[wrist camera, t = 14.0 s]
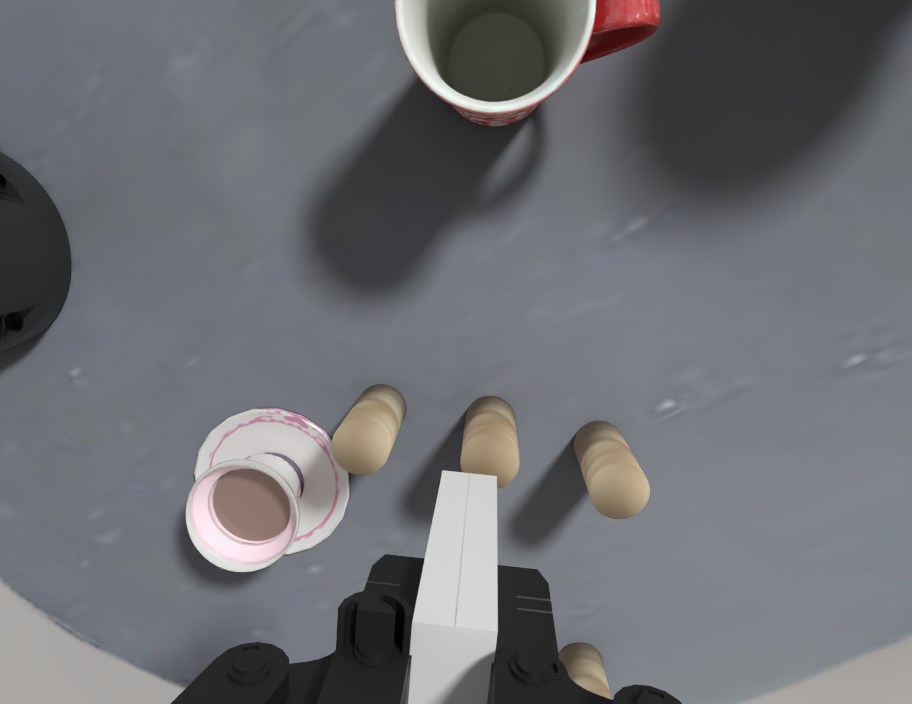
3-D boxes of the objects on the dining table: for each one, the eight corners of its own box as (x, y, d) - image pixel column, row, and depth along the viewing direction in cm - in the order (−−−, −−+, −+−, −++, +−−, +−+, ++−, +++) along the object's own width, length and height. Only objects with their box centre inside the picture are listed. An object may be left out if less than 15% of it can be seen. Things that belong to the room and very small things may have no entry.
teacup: (230, 379, 47) (191, 405, 41) (376, 448, 48) (359, 483, 42) (176, 511, 50) (132, 553, 44) (315, 575, 50) (291, 625, 44)
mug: (428, 146, 42) (399, 118, 29) (421, -3, 40) (387, -103, 27) (619, 137, 42) (677, 105, 29) (622, -15, 40) (686, -124, 27)
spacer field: (358, 692, 52) (335, 777, 45) (357, 383, 46) (330, 418, 39) (597, 709, 52) (616, 798, 44) (628, 395, 46) (656, 434, 38)
